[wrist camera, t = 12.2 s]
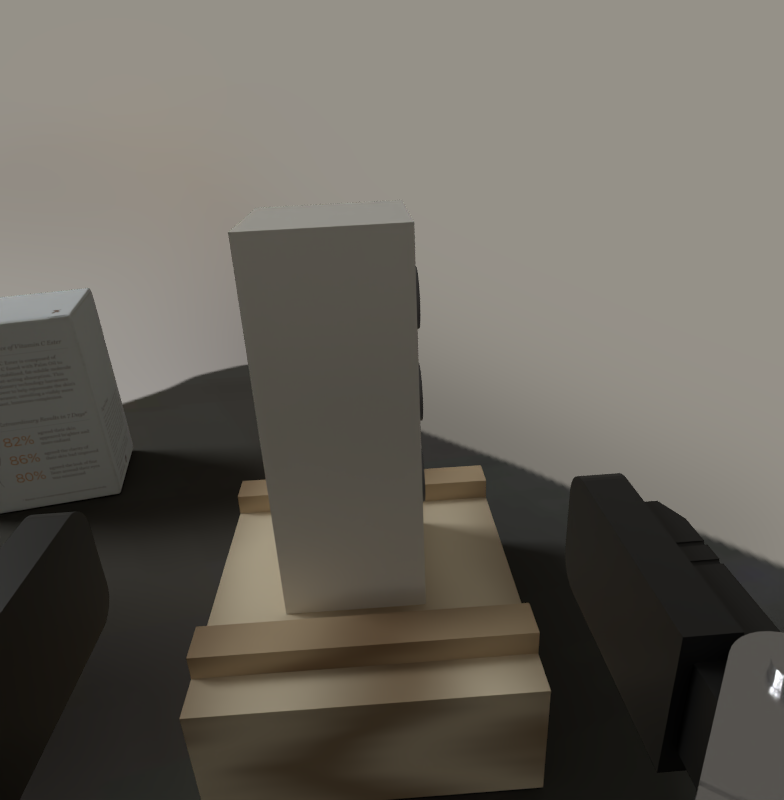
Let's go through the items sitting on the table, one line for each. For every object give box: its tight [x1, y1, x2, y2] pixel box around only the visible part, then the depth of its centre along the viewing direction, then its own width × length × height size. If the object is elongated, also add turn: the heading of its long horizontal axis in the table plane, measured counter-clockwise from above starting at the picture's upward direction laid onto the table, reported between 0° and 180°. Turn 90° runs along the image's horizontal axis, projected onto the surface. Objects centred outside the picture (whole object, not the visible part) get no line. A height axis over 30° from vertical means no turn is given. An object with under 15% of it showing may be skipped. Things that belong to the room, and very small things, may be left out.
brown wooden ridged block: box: [180, 465, 551, 800], centre depth 23 cm, size 10×12×5 cm
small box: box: [0, 288, 133, 514], centre depth 34 cm, size 8×6×10 cm
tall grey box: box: [228, 200, 426, 614], centre depth 20 cm, size 5×4×12 cm
